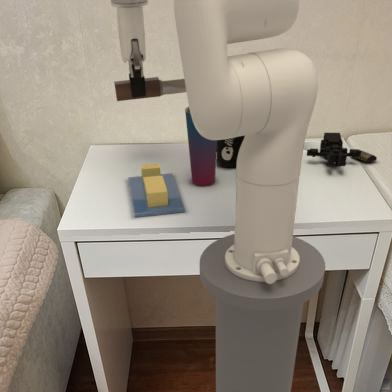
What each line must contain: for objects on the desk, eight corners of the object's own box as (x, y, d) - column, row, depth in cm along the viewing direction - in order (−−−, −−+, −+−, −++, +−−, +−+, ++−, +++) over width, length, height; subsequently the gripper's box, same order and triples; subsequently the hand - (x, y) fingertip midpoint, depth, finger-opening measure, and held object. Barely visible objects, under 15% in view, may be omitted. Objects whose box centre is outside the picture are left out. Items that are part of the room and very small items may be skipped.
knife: (116, 98, 114) (114, 81, 111) (197, 89, 116) (197, 72, 113) (117, 101, 112) (114, 84, 110) (199, 92, 114) (199, 75, 111)
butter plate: (184, 212, 99) (184, 208, 99) (134, 217, 98) (134, 213, 98) (172, 176, 112) (172, 172, 112) (128, 180, 111) (127, 177, 111)
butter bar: (168, 205, 100) (167, 191, 98) (148, 207, 99) (147, 193, 97) (163, 189, 106) (162, 175, 104) (144, 190, 105) (143, 177, 103)
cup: (223, 177, 111) (224, 105, 101) (211, 189, 106) (210, 115, 96) (196, 173, 113) (193, 102, 103) (182, 185, 109) (179, 112, 99)
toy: (310, 154, 108) (306, 128, 118) (307, 175, 111) (304, 148, 122) (367, 155, 106) (358, 129, 117) (362, 177, 110) (354, 149, 120)
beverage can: (213, 167, 116) (212, 112, 108) (221, 157, 120) (221, 103, 112) (240, 170, 114) (242, 114, 106) (247, 159, 119) (249, 105, 111)
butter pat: (161, 180, 109) (160, 167, 107) (143, 182, 108) (141, 169, 106) (159, 176, 111) (158, 162, 109) (142, 178, 110) (140, 164, 108)
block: (366, 165, 114) (367, 157, 113) (348, 157, 118) (349, 149, 117) (377, 161, 115) (379, 153, 114) (359, 153, 119) (360, 146, 118)
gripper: (108, -9, 106) (119, 86, 119) (112, 2, 94) (124, 106, 107) (143, -10, 107) (151, 84, 119) (151, 0, 95) (158, 103, 108)
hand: (138, 93), depth 113 cm, fingers closed on knife, 2 cm apart
